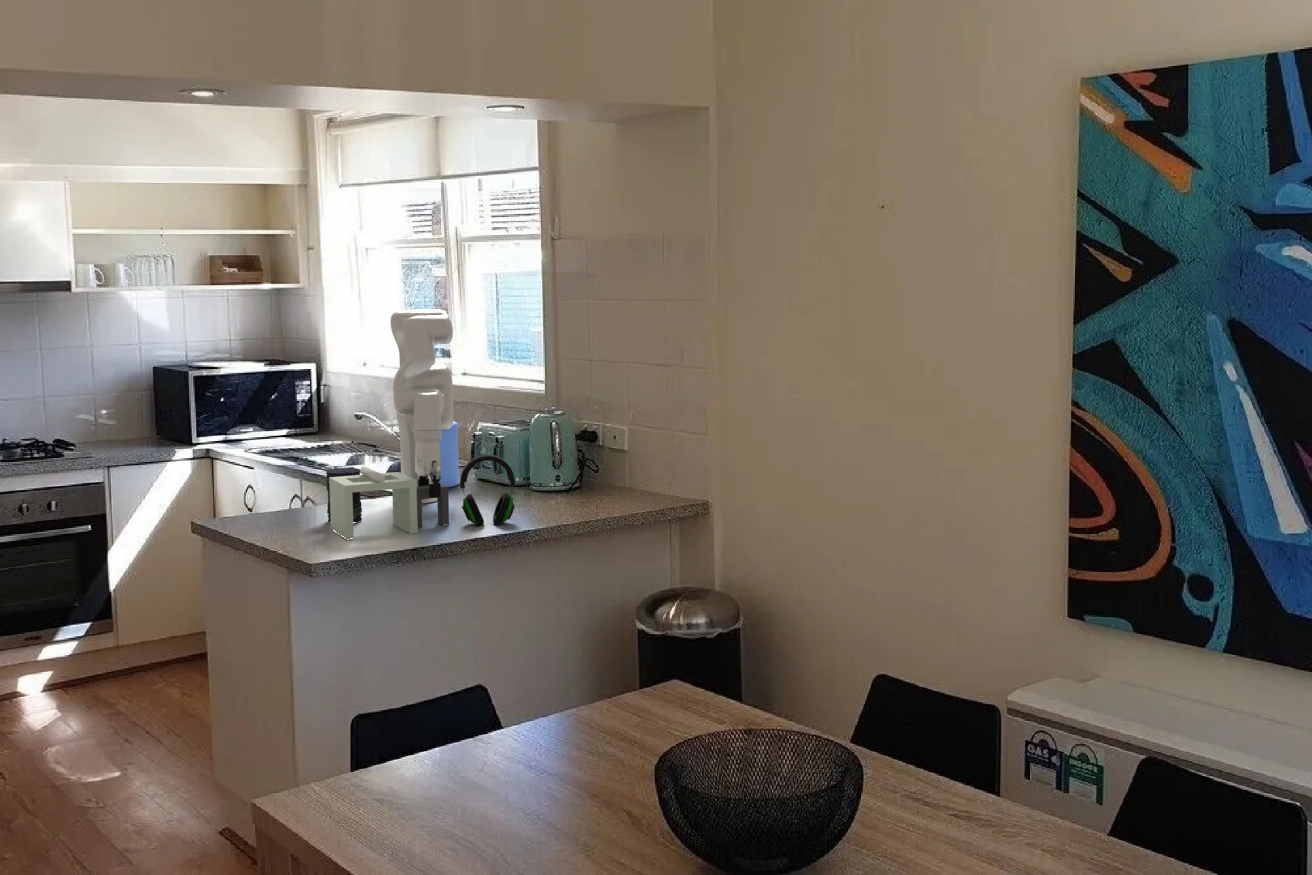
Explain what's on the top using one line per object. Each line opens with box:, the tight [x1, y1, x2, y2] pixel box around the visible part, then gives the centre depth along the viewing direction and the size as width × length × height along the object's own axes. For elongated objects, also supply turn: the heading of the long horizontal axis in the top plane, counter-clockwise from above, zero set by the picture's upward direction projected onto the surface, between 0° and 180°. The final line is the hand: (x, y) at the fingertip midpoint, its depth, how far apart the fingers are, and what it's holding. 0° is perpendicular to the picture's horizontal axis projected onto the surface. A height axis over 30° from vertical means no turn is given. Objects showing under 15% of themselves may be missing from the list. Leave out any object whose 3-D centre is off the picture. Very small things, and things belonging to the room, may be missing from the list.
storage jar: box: [325, 467, 363, 523], centre depth 405 cm, size 10×10×15 cm
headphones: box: [459, 453, 516, 526], centre depth 400 cm, size 9×16×20 cm, turn 102°
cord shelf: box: [329, 465, 419, 539], centre depth 390 cm, size 16×20×17 cm
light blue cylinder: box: [432, 420, 460, 488], centre depth 467 cm, size 16×16×28 cm
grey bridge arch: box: [417, 485, 450, 527], centre depth 400 cm, size 4×10×11 cm, turn 118°
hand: (429, 495), depth 399 cm, fingers open, 9 cm apart
